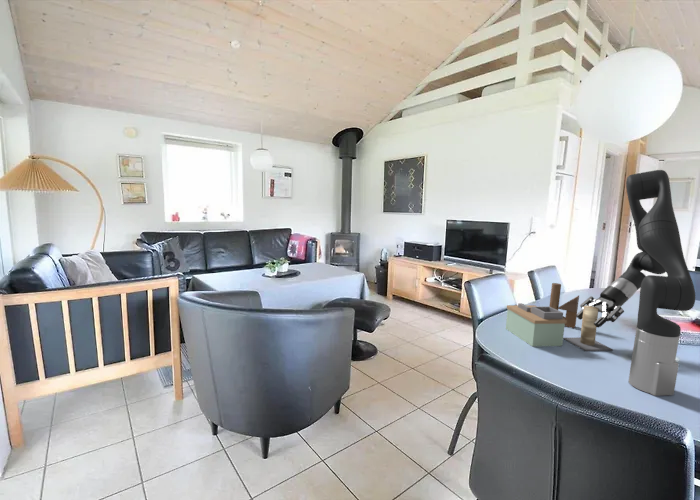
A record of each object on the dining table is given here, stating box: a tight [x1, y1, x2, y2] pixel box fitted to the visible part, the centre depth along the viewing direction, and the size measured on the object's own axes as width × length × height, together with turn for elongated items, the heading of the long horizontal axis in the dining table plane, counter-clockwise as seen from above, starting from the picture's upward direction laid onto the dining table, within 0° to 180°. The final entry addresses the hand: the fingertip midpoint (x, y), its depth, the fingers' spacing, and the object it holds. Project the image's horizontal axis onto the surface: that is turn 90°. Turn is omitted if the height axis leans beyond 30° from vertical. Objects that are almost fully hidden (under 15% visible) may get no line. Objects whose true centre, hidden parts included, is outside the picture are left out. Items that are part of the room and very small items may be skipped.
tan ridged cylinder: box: [580, 305, 599, 345], centre depth 129 cm, size 5×5×14 cm
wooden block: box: [548, 282, 580, 329], centre depth 151 cm, size 4×11×18 cm, turn 46°
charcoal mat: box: [563, 336, 613, 352], centre depth 130 cm, size 11×11×1 cm
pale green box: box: [505, 303, 567, 348], centre depth 135 cm, size 19×13×13 cm
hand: (586, 321), depth 129 cm, fingers open, 8 cm apart
